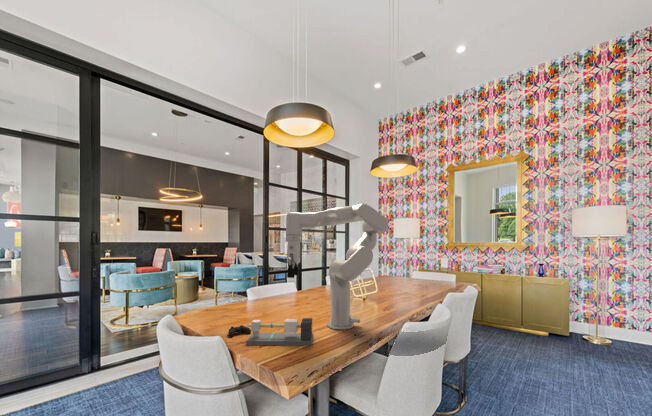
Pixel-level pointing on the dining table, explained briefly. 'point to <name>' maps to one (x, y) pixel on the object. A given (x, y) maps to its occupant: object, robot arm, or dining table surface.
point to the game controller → (238, 330)
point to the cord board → (281, 334)
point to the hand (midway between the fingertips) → (292, 276)
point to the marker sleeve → (290, 325)
